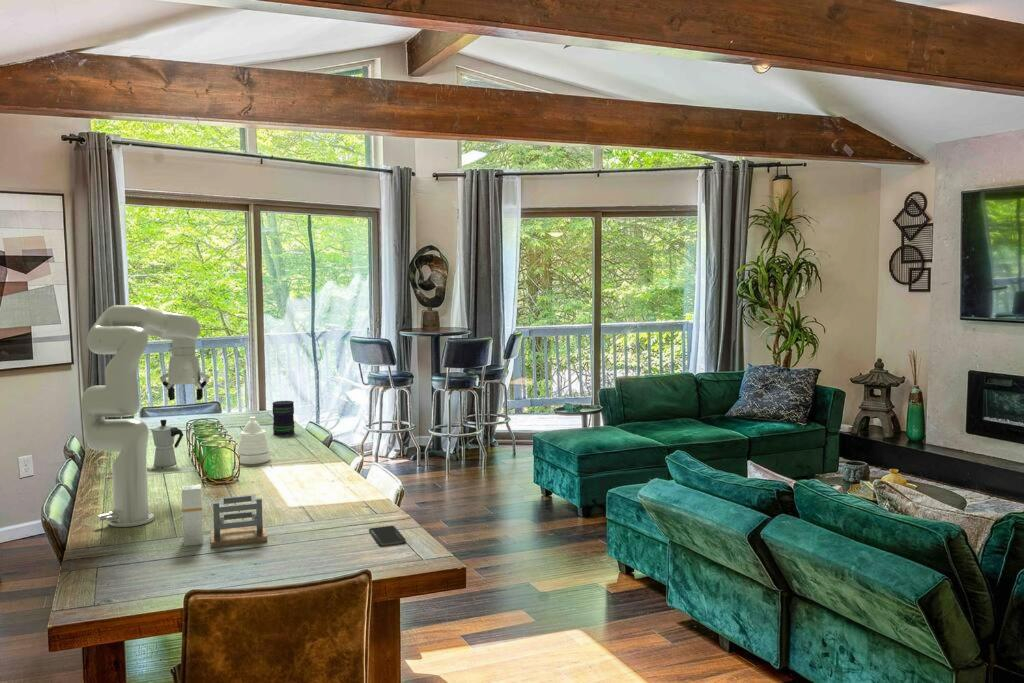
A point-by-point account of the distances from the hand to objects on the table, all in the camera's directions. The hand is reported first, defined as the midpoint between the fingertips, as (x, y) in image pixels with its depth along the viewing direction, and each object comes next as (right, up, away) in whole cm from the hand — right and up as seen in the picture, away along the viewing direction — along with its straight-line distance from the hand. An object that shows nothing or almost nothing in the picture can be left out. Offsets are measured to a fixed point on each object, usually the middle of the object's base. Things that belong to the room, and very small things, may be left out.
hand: (185, 399), depth 291 cm
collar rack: (+38, -36, -57) cm, 77 cm away
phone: (+81, -36, -56) cm, 105 cm away
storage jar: (+9, -23, +95) cm, 98 cm away
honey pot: (+11, -28, +40) cm, 50 cm away
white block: (+26, -36, -60) cm, 75 cm away
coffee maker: (-21, -28, +33) cm, 48 cm away
